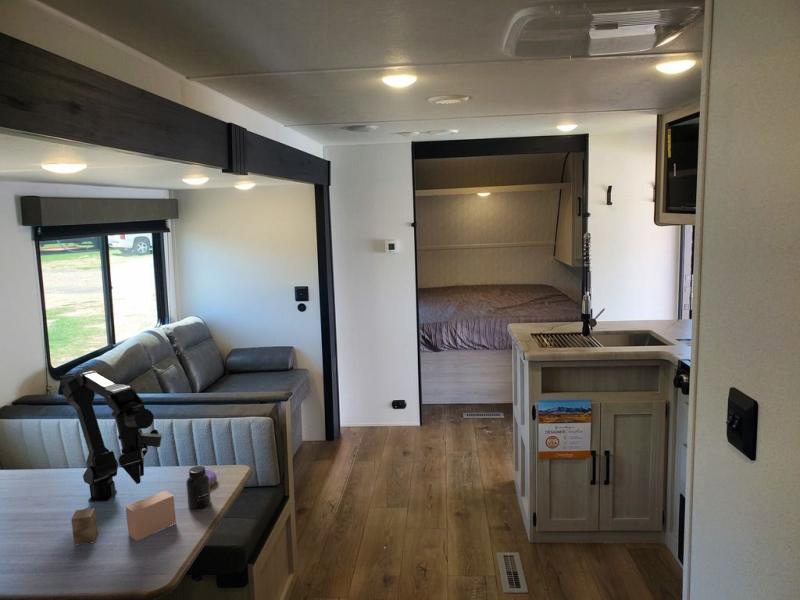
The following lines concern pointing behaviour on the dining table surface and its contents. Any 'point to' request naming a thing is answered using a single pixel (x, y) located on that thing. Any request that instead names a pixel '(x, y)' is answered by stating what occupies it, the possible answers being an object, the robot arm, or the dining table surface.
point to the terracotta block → (150, 515)
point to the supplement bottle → (198, 488)
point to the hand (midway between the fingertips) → (140, 479)
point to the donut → (211, 477)
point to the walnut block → (84, 526)
